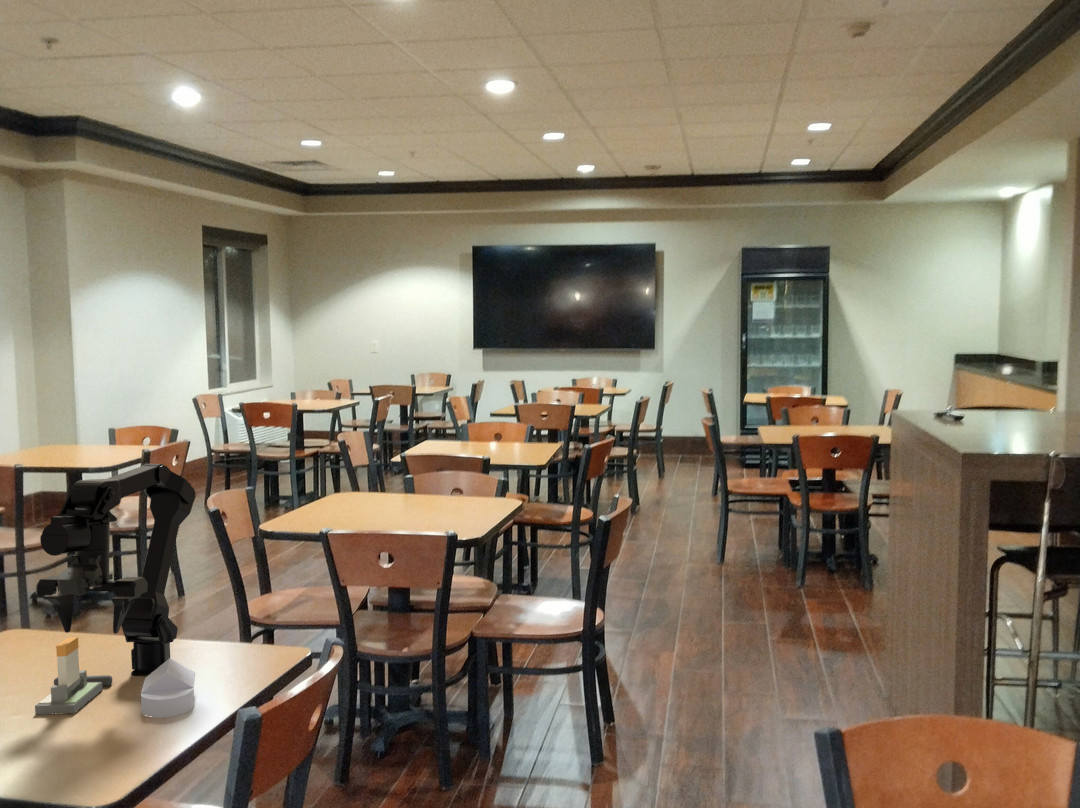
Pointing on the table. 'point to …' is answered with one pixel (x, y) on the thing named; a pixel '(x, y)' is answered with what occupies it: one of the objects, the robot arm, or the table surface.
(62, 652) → the lever
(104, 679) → the grey double capsule
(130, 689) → the table surface
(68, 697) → the panel
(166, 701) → the wedge on round base
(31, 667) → the table surface
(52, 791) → the table surface
